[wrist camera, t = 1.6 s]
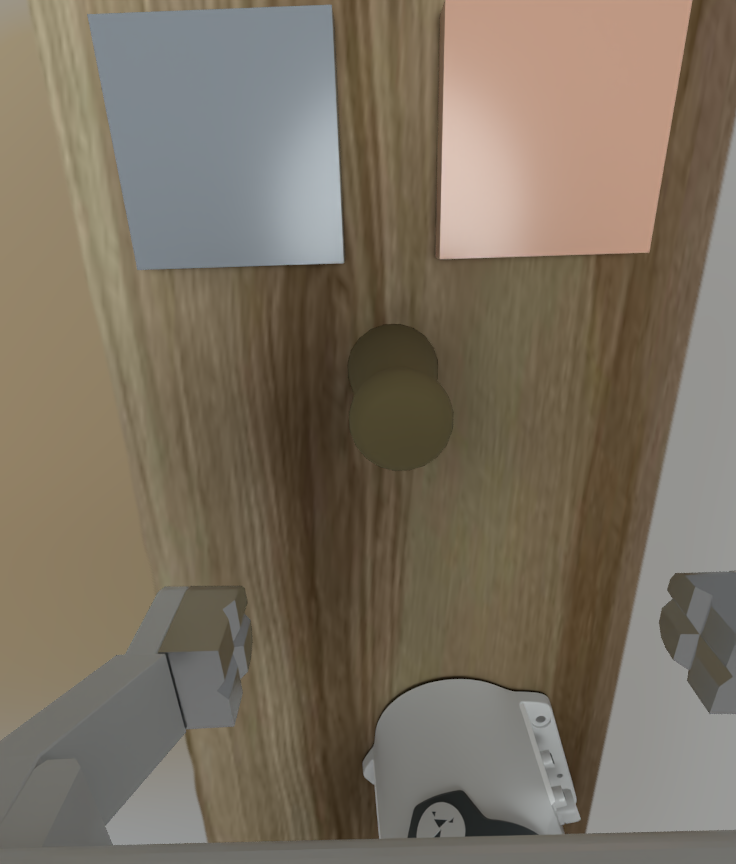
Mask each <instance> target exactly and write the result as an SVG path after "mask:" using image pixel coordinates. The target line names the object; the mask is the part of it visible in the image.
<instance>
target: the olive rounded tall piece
mask: <svg viewBox="0 0 736 864" xmlns="http://www.w3.org/2000/svg"><path fill="white" fill-rule="evenodd" d="M348 378H349V381H350V384H351V387H352V390H353V393H354V397H353V401H352V404H351V407H350V411H349V428H350V433H351V435H352V438H353V440H354V443H355V445H356V446H357V448H358V449H359V450H360V451H361V453H362V454H363V455H364V456H365V457H366V458H367V459H368V460H369V461H371V462H373V463H374V464H376V465H378V466H379V467H382V468H386V469H390V470H394V471H400V470H412V469H415V468H418V467H422V466H425V465H426V464H428V463H429V462H431V461H432V460H434V459H435V458H437V457H438V455H439V454H440V453H441V452H442V450H443V449H444V448H445V447H446V446H447V443H448V441H449V438H450V435H451V433H452V429H453V413H454V412H453V409H452V406H451V403H450V399H449V397H448V395H447V393H446V392H445V390H444V389H443V388H442V386H441V385H440V384H439V382H438V381H437V379H438V361H437V357H436V354H435V351H434V348H433V346H432V345H431V344H430V342H429V341H428V340H427V338H426V337H425V336H424V335H422V334H421V333H420V332H418V331H417V330H415V329H414V328H411V327H408V326H404V325H401V324H385V325H382V326H379V327H376V328H373V329H371V330H370V331H368V332H367V333H366V334H364V335H363V336H362V337H360V338H359V340H358V341H357V343H356V344H355V346H354V347H353V349H352V350H351V353H350V357H349V360H348Z"/></svg>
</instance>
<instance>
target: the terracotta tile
mask: <svg viewBox="0 0 736 864" xmlns="http://www.w3.org/2000/svg"><path fill="white" fill-rule="evenodd" d="M691 5H692V0H445V2H444V5H443V8H442V10H441V13H440V41H439V95H438V148H437V202H436V256H435V257H436V258H438V259H465V258H496V257H526V256H557V255H587V254H618V253H648V252H649V251H650V245H651V239H652V233H653V227H654V221H655V216H656V210H657V204H658V198H659V192H660V186H661V180H662V175H663V169H664V163H665V157H666V151H667V145H668V139H669V134H670V128H671V122H672V116H673V110H674V104H675V99H676V93H677V87H678V81H679V75H680V69H681V63H682V58H683V52H684V46H685V40H686V34H687V28H688V22H689V17H690V11H691Z"/></svg>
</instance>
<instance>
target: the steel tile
mask: <svg viewBox="0 0 736 864" xmlns="http://www.w3.org/2000/svg"><path fill="white" fill-rule="evenodd" d="M87 15H88V20H89V25H90V30H91V35H92V40H93V45H94V51H95V56H96V61H97V66H98V71H99V76H100V81H101V86H102V91H103V96H104V102H105V107H106V112H107V117H108V122H109V127H110V132H111V137H112V142H113V147H114V153H115V158H116V163H117V168H118V173H119V178H120V183H121V188H122V193H123V198H124V204H125V209H126V214H127V219H128V224H129V229H130V234H131V239H132V244H133V249H134V255H135V260H136V265H137V270H149V269H180V268H210V267H241V266H271V265H302V264H333V263H344V262H345V244H344V222H343V201H342V179H341V157H340V135H339V114H338V92H337V70H336V48H335V27H334V16H333V10H332V5H314V6H288V7H263V8H237V9H211V10H186V11H160V12H135V13H109V14H87Z"/></svg>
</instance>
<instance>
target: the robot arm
mask: <svg viewBox="0 0 736 864" xmlns="http://www.w3.org/2000/svg"><path fill="white" fill-rule="evenodd" d="M667 590H668V592H669V594H670V595H671V597H672V598H673V599H672V600H671V601H670V602H668V603H667V604H666V605H665V606H664V607H663V608H662V611H661V616H660V620H659V624H660V632H661V638H662V640H663V643H664V645H665V648H666V649H667V651H668V652H669V654H670V656H671V657H672V659H673V660H674V661H676V662H677V663H679V664H680V665H682V666H683V667H685V668H686V669H688V670H689V671H688V678H687V681H688V683H689V684H690V686H691V687H692V688H693V690H694V691H695V693H696V695H697V696H698V697H699V699H700V700H701V702H702V703H703V705H704V706H705V708H706V709H707V711H708V712H709V713H710V714H736V571H729V572H698V573H675V575H674V576H673V577H672V578H671V579H670V583H669V585H668V589H667ZM246 606H247V597H246V592H245V588H244V587H243V586H190V587H164V588H162V589H161V590H160V591H159V592H158V593H157V595H156V597H155V599H154V601H153V603H152V605H151V607H150V608H149V610H148V612H147V614H146V616H145V618H144V620H143V622H142V624H141V626H140V627H139V629H138V631H137V633H136V635H135V637H134V639H133V641H132V643H131V644H130V646H129V648H128V650H127V652H126V654H125V655H116V656H115V657H114V658H112V659H111V660H109V661H108V662H107V663H105V664H104V665H103V666H101V667H100V668H99V669H97V670H96V671H94V672H93V673H92V674H90V675H89V676H88V677H86V678H85V679H84V680H83V681H81V682H80V683H78V684H77V685H76V686H74V687H73V688H71V689H70V690H69V691H68V692H66V693H65V694H63V695H62V696H60V697H59V698H58V699H56V700H55V701H54V702H52V703H51V704H50V705H48V706H47V707H46V708H44V709H43V710H41V711H40V712H39V713H37V714H36V715H35V716H33V717H32V718H31V719H29V720H28V721H27V722H25V723H24V724H23V725H21V726H20V727H18V728H17V729H16V730H14V731H13V732H12V733H10V734H9V735H8V736H6V737H5V738H4V739H2V740H1V741H0V864H736V830H714V831H675V832H673V831H672V832H637V833H636V832H633V833H593V834H565V833H564V830H563V827H562V825H564V823H566V824H568V823H573V822H578V821H579V820H581V818H580V815H579V812H578V810H577V807H576V801H577V799H576V794H575V790H574V786H573V782H572V779H571V775H570V772H569V768H568V764H567V761H566V757H565V754H564V750H563V747H562V743H561V739H560V736H559V732H558V729H557V725H556V722H555V718H554V714H553V711H552V707H551V704H550V700H549V698H548V697H547V696H546V695H544V694H541V693H535V692H515V691H510V690H507V689H504V688H501V687H499V686H496V685H494V684H490V683H487V682H483V681H478V680H470V679H449V680H441V681H436V682H431V683H427V684H424V685H421V686H419V687H416V688H414V689H412V690H410V691H408V692H406V693H404V694H403V695H401V696H400V697H398V698H397V699H396V700H394V701H393V702H392V703H391V704H390V705H389V706H388V707H387V708H386V710H385V711H384V712H383V714H382V715H381V717H380V719H379V721H378V724H377V727H376V732H375V742H374V745H373V748H372V749H371V750H370V751H369V753H368V754H367V755H366V757H365V758H364V760H363V764H362V765H363V775H364V777H365V778H366V779H367V780H368V781H369V782H371V783H372V784H373V785H375V796H376V809H377V820H378V832H379V839H347V840H305V841H264V842H224V843H184V844H150V845H149V844H147V845H113V844H112V842H111V839H110V837H109V835H108V832H107V830H106V827H105V825H106V824H107V823H108V822H109V821H110V820H111V818H112V817H113V816H114V815H115V814H116V812H118V810H119V809H120V808H121V807H122V806H123V805H124V803H125V802H126V801H127V800H128V799H129V797H131V795H132V794H133V793H134V792H135V791H136V790H137V788H138V787H139V786H140V785H141V784H142V782H143V781H144V780H145V779H146V778H147V777H148V775H149V774H150V773H151V772H152V771H153V770H154V769H155V768H156V766H157V765H158V764H159V763H160V762H161V760H162V759H163V758H164V757H165V756H166V755H167V754H168V752H169V751H170V750H171V749H172V748H173V747H174V746H175V744H176V743H177V742H178V741H179V740H180V738H181V737H182V736H183V735H184V734H185V733H186V730H185V729H197V728H215V727H233V726H234V725H235V721H236V717H237V713H238V709H239V705H240V701H241V698H242V694H243V692H242V686H241V680H240V679H241V678H242V677H243V676H244V675H245V674H246V673H247V672H248V669H249V665H250V660H251V653H252V643H253V640H252V626H251V620H250V619H249V618H248V617H247V616H246V615H245V614H244V613H245V609H246Z"/></svg>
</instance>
